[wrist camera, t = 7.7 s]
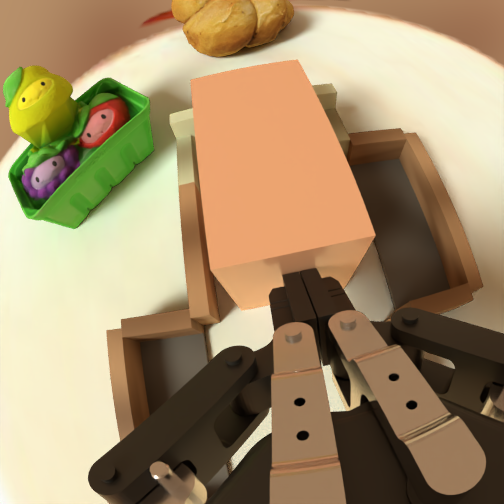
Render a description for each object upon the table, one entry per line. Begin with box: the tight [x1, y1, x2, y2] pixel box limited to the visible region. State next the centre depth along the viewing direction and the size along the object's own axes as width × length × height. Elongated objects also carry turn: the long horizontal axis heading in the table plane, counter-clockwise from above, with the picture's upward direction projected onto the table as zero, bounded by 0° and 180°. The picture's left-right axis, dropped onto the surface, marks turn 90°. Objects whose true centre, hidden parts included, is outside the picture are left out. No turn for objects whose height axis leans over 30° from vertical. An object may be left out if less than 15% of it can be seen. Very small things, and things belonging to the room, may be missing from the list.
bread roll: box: [171, 0, 294, 57], centre depth 25 cm, size 13×10×8 cm
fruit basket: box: [3, 66, 154, 229], centre depth 18 cm, size 11×9×11 cm
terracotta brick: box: [191, 60, 376, 311], centre depth 16 cm, size 11×6×8 cm, turn 10°
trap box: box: [107, 108, 483, 503], centre depth 16 cm, size 26×21×2 cm
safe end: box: [170, 84, 337, 147], centre depth 20 cm, size 1×11×4 cm, turn 99°
